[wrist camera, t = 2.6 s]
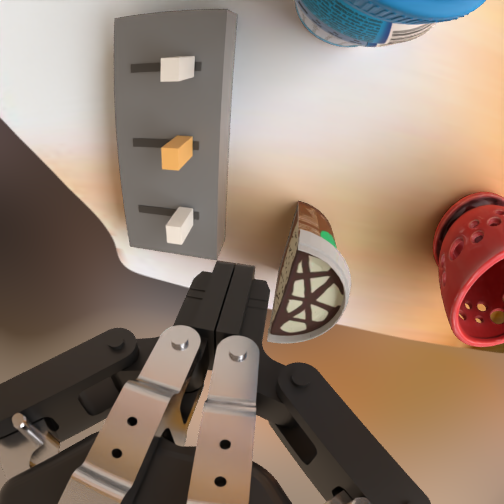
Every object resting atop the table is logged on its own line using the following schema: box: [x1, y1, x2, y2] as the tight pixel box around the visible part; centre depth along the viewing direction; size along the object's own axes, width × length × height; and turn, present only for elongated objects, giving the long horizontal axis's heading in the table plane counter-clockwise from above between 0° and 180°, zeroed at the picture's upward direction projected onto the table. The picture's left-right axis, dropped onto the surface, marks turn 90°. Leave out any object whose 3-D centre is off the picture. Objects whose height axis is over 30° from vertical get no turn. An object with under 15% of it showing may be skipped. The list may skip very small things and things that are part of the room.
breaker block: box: [114, 9, 237, 260], centre depth 28 cm, size 24×10×4 cm, turn 176°
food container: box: [267, 201, 351, 343], centre depth 31 cm, size 12×6×10 cm, turn 170°
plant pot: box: [433, 192, 504, 347], centre depth 26 cm, size 13×13×12 cm
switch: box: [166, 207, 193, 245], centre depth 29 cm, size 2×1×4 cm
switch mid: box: [161, 136, 193, 171], centre depth 25 cm, size 2×1×4 cm
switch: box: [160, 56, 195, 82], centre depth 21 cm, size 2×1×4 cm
